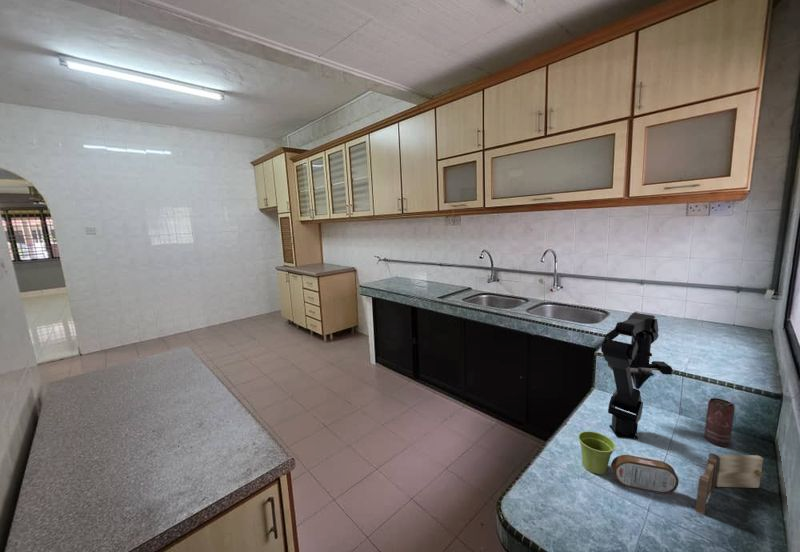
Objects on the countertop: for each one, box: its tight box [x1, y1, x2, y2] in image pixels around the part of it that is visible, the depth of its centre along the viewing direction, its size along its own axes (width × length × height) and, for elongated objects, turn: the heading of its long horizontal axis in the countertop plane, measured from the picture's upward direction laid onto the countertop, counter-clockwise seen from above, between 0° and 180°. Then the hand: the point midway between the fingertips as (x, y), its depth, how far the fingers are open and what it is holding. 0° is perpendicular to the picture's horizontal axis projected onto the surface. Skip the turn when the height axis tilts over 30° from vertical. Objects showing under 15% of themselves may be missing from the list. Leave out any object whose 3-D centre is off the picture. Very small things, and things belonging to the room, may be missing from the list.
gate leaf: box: [708, 452, 764, 489], centre depth 88 cm, size 13×3×9 cm, turn 87°
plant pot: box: [577, 430, 616, 475], centre depth 97 cm, size 9×9×9 cm
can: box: [703, 397, 736, 448], centre depth 107 cm, size 6×6×14 cm
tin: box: [610, 454, 680, 494], centre depth 89 cm, size 15×3×8 cm, turn 71°
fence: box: [695, 456, 717, 515], centre depth 84 cm, size 12×2×9 cm, turn 129°
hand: (637, 388), depth 120 cm, fingers closed
